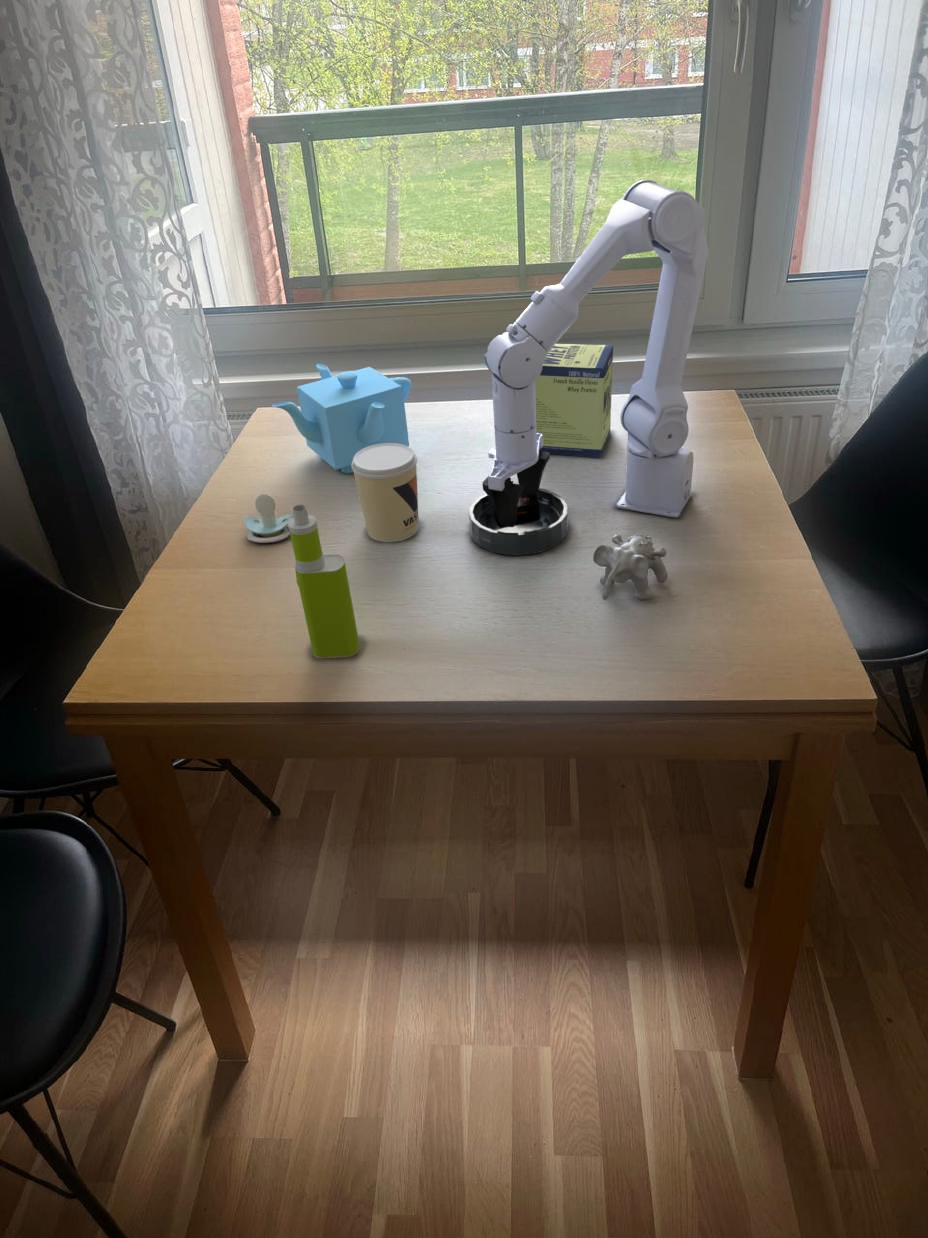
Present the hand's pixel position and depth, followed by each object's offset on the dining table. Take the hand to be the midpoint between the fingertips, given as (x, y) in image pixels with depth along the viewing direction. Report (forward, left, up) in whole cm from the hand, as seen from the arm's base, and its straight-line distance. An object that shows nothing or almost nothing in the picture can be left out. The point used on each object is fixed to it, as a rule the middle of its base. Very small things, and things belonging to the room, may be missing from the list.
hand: (518, 512), depth 130 cm
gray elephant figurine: (-20, +10, -3) cm, 23 cm away
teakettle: (+37, -13, -3) cm, 39 cm away
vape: (+10, +34, -3) cm, 36 cm away
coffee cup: (+18, +6, -3) cm, 19 cm away
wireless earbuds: (0, 0, -1) cm, 1 cm away
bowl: (0, 0, -3) cm, 3 cm away
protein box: (+5, -30, -3) cm, 31 cm away
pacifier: (+35, +14, -3) cm, 38 cm away
